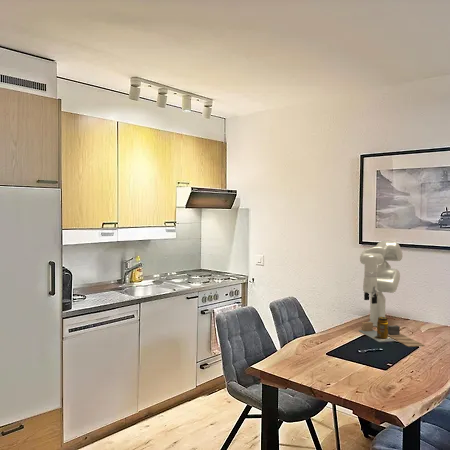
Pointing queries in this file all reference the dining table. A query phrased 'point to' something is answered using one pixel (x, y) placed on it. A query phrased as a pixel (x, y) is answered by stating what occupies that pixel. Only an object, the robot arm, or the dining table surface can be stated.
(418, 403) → the dining table surface
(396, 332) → the strip empty
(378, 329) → the condiment
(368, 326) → the strip
